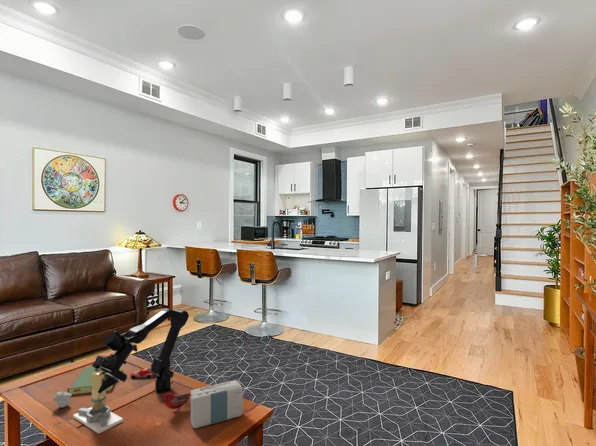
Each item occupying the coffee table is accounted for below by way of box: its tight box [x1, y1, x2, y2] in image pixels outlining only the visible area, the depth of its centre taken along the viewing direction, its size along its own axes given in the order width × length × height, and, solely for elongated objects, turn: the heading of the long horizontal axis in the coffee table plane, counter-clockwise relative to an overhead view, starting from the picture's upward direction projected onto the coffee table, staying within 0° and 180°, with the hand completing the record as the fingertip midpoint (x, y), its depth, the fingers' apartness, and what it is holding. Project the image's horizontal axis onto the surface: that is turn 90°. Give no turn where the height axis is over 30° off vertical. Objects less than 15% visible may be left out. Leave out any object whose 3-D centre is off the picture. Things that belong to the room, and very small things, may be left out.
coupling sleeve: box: [90, 371, 107, 410], centre depth 148 cm, size 5×5×14 cm
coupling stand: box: [73, 404, 124, 434], centre depth 149 cm, size 10×20×4 cm, turn 57°
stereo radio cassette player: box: [190, 365, 244, 429], centre depth 149 cm, size 21×8×20 cm, turn 119°
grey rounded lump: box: [53, 391, 72, 409], centre depth 158 cm, size 6×7×7 cm
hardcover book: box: [67, 365, 123, 395], centre depth 182 cm, size 25×19×4 cm
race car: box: [129, 367, 155, 380], centre depth 189 cm, size 13×5×4 cm, turn 94°
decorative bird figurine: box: [161, 392, 191, 414], centre depth 156 cm, size 3×18×10 cm, turn 139°
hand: (95, 391), depth 147 cm, fingers closed on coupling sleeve, 5 cm apart
